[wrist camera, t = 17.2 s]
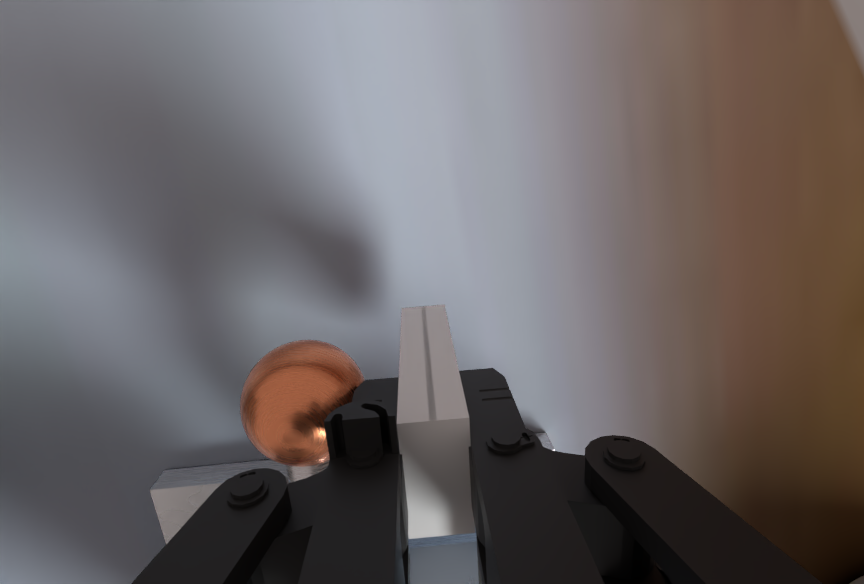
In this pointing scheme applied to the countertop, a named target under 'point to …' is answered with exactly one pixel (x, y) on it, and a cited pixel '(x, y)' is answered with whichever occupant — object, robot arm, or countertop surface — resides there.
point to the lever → (297, 403)
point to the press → (190, 487)
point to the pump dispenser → (858, 581)
